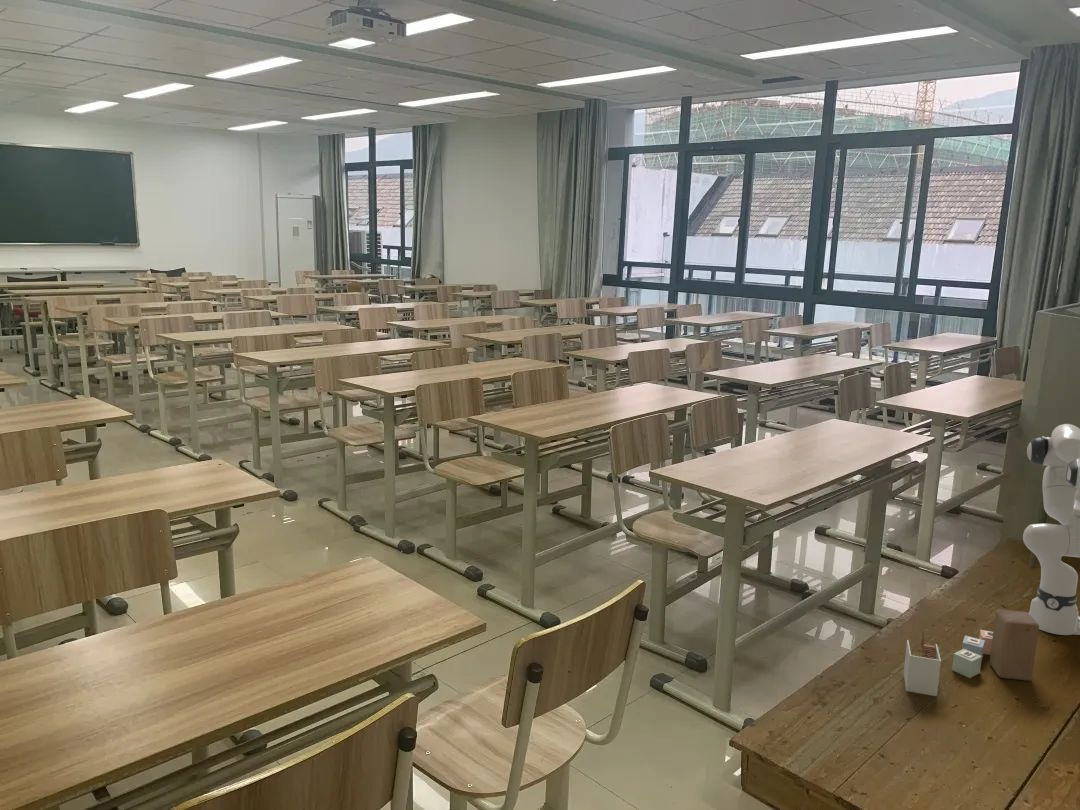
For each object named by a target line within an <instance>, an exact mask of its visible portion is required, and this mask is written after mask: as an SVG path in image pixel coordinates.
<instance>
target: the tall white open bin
mask: <svg viewBox="0 0 1080 810" xmlns="http://www.w3.org/2000/svg"><path fill="white" fill-rule="evenodd" d="M921 635H922V636H921V643H920V647H921V656H917V655H913V654H912V653H911V646H910V640H909V639H907V640H906V644H905V645H906V647H905V656H904V658H905V659H904V665H903V666H904V667H903V679H904V685H905V692H909V693H910V692H911V693H917V694H921V695H928V696H933V697H938V691H939V683H940V682H939V681H940V680H939V679H940V673H941V663H942V660H941V655H940V651H939V647H938V644H937V643H935V644H934V645H929V644H925V630H923V629H922V634H921Z"/></svg>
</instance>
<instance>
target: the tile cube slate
mask: <svg viewBox="0 0 1080 810" xmlns="http://www.w3.org/2000/svg"><path fill="white" fill-rule="evenodd" d="M984 644H985V640H981V639H979V638H977V637H972V636H969V635H964V638H963V640H962V645H961V650H962V649H966V650H968V651H971V652H973V653H975V654H978V655H980V656H982V660H981V662H982V661H983V659H984V658H983V657H984V654H983V652H984Z"/></svg>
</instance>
